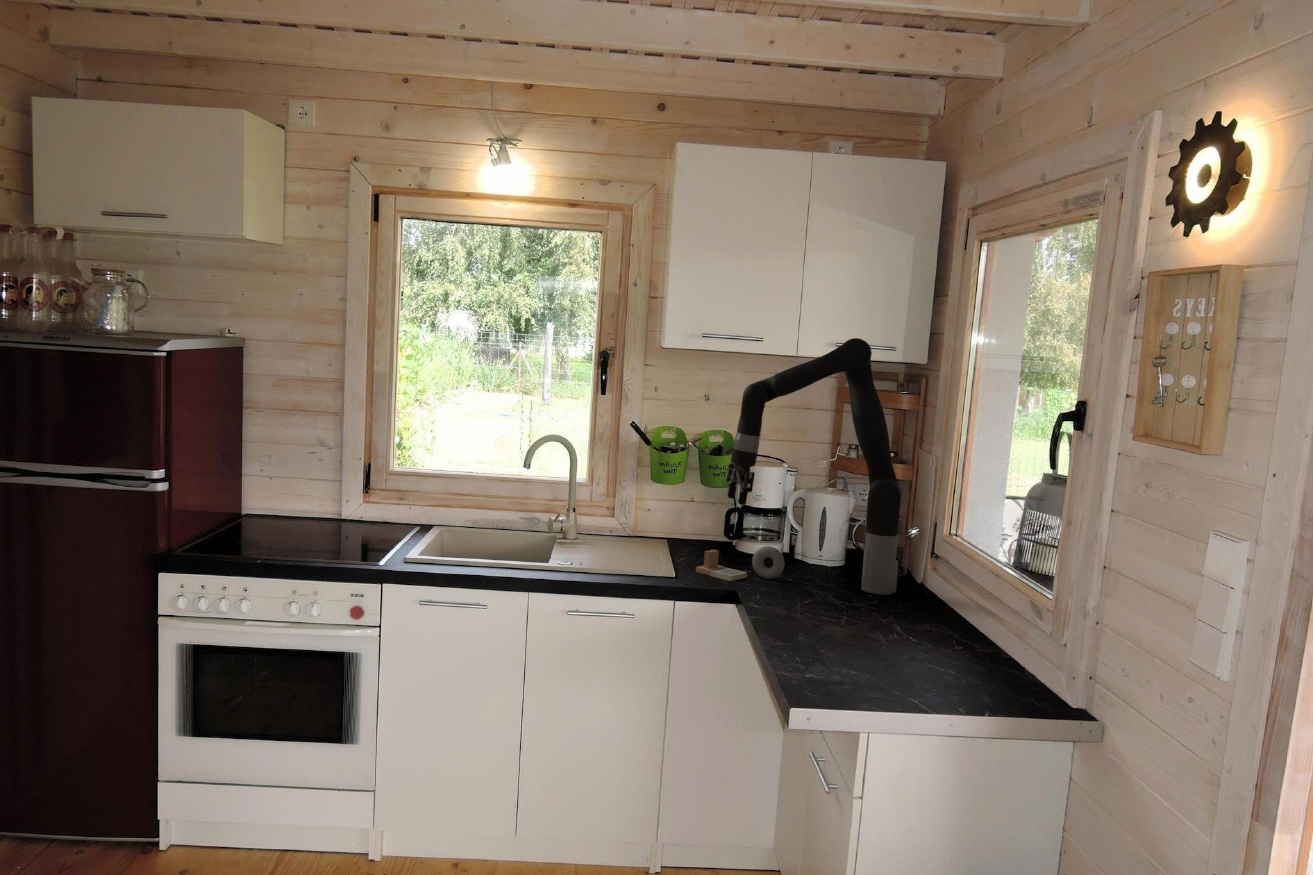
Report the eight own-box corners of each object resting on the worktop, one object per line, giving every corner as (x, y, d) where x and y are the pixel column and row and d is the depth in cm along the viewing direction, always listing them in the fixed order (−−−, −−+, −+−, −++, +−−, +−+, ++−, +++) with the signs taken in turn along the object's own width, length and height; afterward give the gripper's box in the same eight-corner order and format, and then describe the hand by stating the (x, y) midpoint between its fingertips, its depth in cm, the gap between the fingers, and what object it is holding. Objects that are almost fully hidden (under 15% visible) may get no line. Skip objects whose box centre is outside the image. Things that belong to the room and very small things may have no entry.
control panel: (746, 577, 281) (747, 572, 281) (730, 581, 275) (730, 575, 275) (725, 572, 286) (726, 567, 286) (709, 575, 280) (709, 570, 280)
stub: (724, 571, 286) (726, 551, 286) (708, 575, 280) (709, 553, 280) (712, 568, 290) (713, 548, 289) (695, 571, 284) (697, 550, 283)
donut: (749, 577, 281) (752, 544, 280) (752, 575, 284) (755, 543, 284) (781, 582, 277) (784, 549, 277) (784, 580, 281) (787, 547, 280)
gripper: (766, 454, 273) (756, 507, 275) (747, 446, 287) (738, 496, 289) (743, 451, 271) (733, 505, 273) (725, 443, 284) (716, 494, 286)
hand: (736, 501), depth 281 cm, fingers open, 8 cm apart
